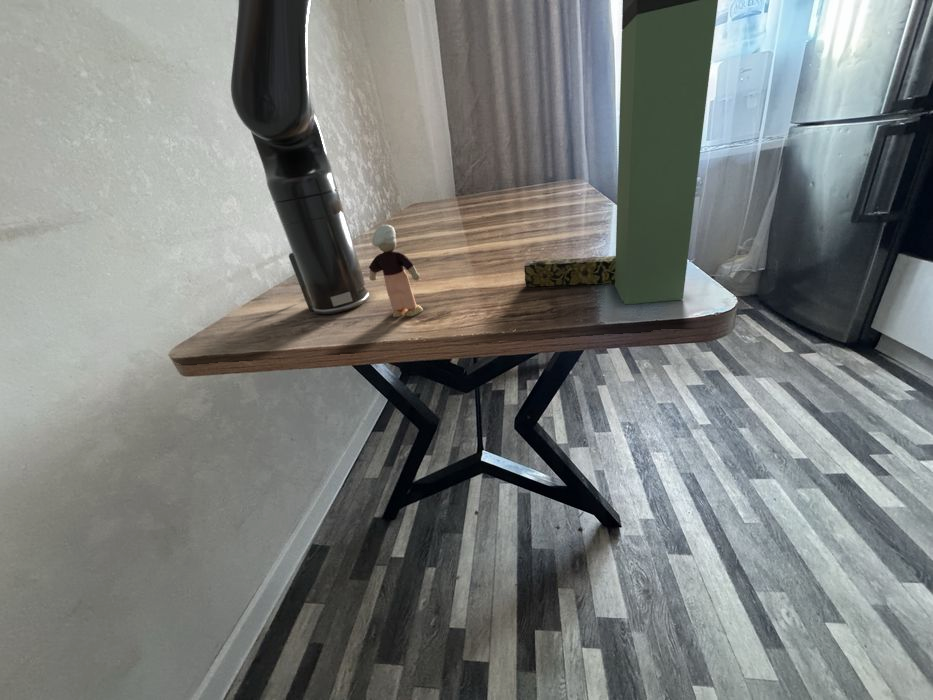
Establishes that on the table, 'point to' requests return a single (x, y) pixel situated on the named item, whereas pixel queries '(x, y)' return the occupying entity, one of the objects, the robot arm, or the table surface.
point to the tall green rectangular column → (660, 142)
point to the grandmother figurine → (394, 272)
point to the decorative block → (570, 271)
